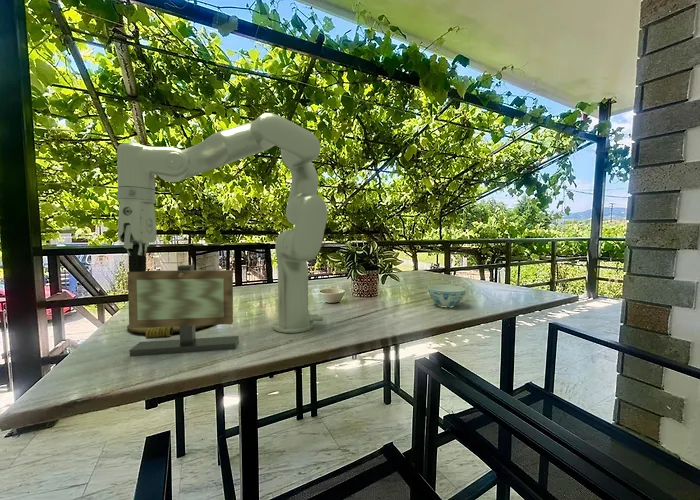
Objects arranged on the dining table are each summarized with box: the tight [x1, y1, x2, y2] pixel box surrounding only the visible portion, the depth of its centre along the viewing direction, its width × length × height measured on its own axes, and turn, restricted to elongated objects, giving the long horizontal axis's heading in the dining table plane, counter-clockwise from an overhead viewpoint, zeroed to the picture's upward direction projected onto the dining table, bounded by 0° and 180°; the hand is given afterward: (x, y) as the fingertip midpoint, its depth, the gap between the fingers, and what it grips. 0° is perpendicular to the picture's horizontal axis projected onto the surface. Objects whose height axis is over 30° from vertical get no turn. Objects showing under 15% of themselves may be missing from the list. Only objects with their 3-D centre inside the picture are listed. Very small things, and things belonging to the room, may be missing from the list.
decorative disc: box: [126, 324, 210, 339], centre depth 106 cm, size 29×3×30 cm
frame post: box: [128, 264, 240, 357], centre depth 83 cm, size 25×6×22 cm, turn 102°
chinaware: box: [427, 284, 467, 307], centre depth 131 cm, size 15×15×8 cm
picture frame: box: [127, 269, 234, 328], centre depth 80 cm, size 24×2×14 cm, turn 101°
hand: (137, 271), depth 78 cm, fingers closed
